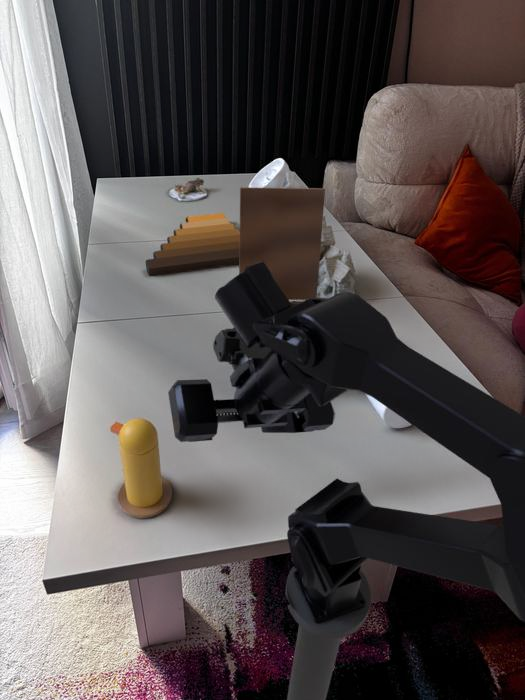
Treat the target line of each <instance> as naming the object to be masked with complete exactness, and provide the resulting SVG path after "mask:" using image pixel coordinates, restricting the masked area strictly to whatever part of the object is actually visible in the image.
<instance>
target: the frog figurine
mask: <svg viewBox="0 0 525 700" xmlns="http://www.w3.org/2000/svg"><path fill="white" fill-rule="evenodd" d="M204 183H205V180H204V179H202V178H199V177H197V178H196V179H193V180H188V181H187V182H186V184H185V185H183V184H177V185H176V184H174V187H173V188H172V189H170V191H169V192H168V194H169V196H170V197H172V198H174V199H176V200H178V201H179V202H193V201H200V200H202V199H205V198H206V197H207V195H208V191H207V190H206V189H204V188H201V187H200V186H204Z"/></svg>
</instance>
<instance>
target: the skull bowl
mask: <svg viewBox="0 0 525 700" xmlns="http://www.w3.org/2000/svg"><path fill="white" fill-rule="evenodd" d="M295 175H296V172H295V171H291V169H290V168H289V165H288V163H287V162H286V160H284V159H283V158H281V157H279V158H276V159H274V160H273V161H271V162H269V163H268V164H267V165H265V166H264V167H263V168H261V169H260V170H259V171H258V172H257V173H256V175H255V176H254V177H253V178H252V179H251V180H250V182H249V184H248V187H254V188H301V187H300V186H301V185H300V183H299V182H298V181H297V180H296V179H295Z"/></svg>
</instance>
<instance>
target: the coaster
mask: <svg viewBox="0 0 525 700" xmlns="http://www.w3.org/2000/svg"><path fill="white" fill-rule="evenodd" d="M161 479H162V490H163V493H162V496H161V498H160V500H159V501H158V502H157V503H155V504H154V505H152V506H149V507H136V506H134V505H132V504H131V503H130V502H129V501H128V499H127V493H126V486H125V482H124V483H123V484H122V485H121V487H120V488H119V490H118V493H117V503H118V506H119V508H120V510H121V511H122V512H123V513H124V514H125V515H127V516H129V517H132V518H135V519H148V518H152V517H155V516H157V515H159V514H161V513H162V512H164V511H165V510H166V509H167V508H168V507H169V506H170V504H171V501H172V499H173V489H172V485H171V484H170V482H169V481H168V479H166V478H165V477H164V476H162V475H161Z"/></svg>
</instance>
